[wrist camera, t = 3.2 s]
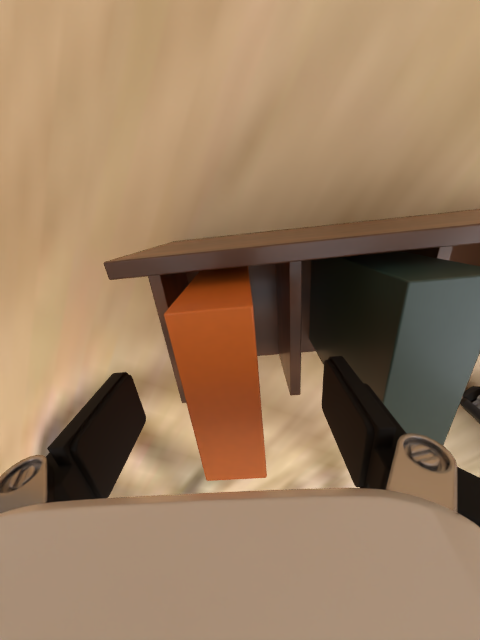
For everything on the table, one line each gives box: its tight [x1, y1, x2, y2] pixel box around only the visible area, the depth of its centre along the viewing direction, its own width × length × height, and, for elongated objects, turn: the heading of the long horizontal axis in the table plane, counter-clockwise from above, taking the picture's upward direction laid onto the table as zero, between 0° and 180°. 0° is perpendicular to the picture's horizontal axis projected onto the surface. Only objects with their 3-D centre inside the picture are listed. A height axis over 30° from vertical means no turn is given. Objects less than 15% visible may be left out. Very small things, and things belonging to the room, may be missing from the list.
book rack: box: [104, 209, 480, 403], centre depth 16 cm, size 12×27×11 cm, turn 96°
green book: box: [309, 251, 480, 445], centre depth 15 cm, size 9×4×12 cm, turn 6°
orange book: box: [164, 266, 267, 481], centre depth 15 cm, size 9×3×13 cm, turn 6°
